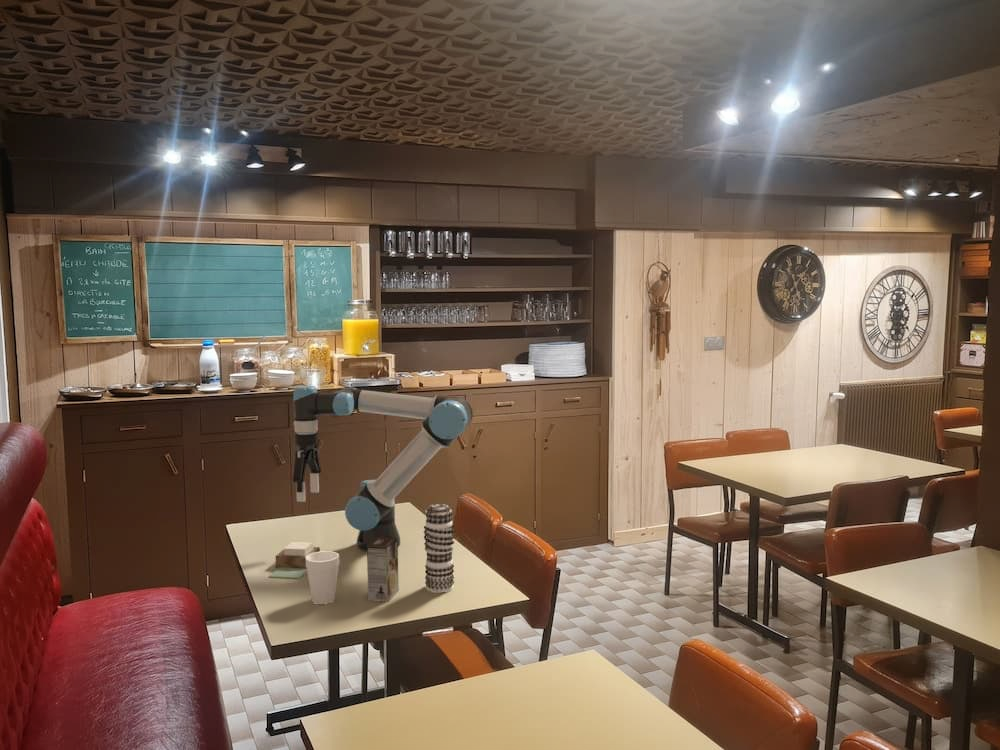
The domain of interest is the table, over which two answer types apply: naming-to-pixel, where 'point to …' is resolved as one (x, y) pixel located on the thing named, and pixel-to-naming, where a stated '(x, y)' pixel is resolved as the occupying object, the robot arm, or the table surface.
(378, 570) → the coffee box
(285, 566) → the brown flat block
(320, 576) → the foam cup
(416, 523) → the table surface
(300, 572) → the mat
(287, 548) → the tile
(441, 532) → the decorative candle
